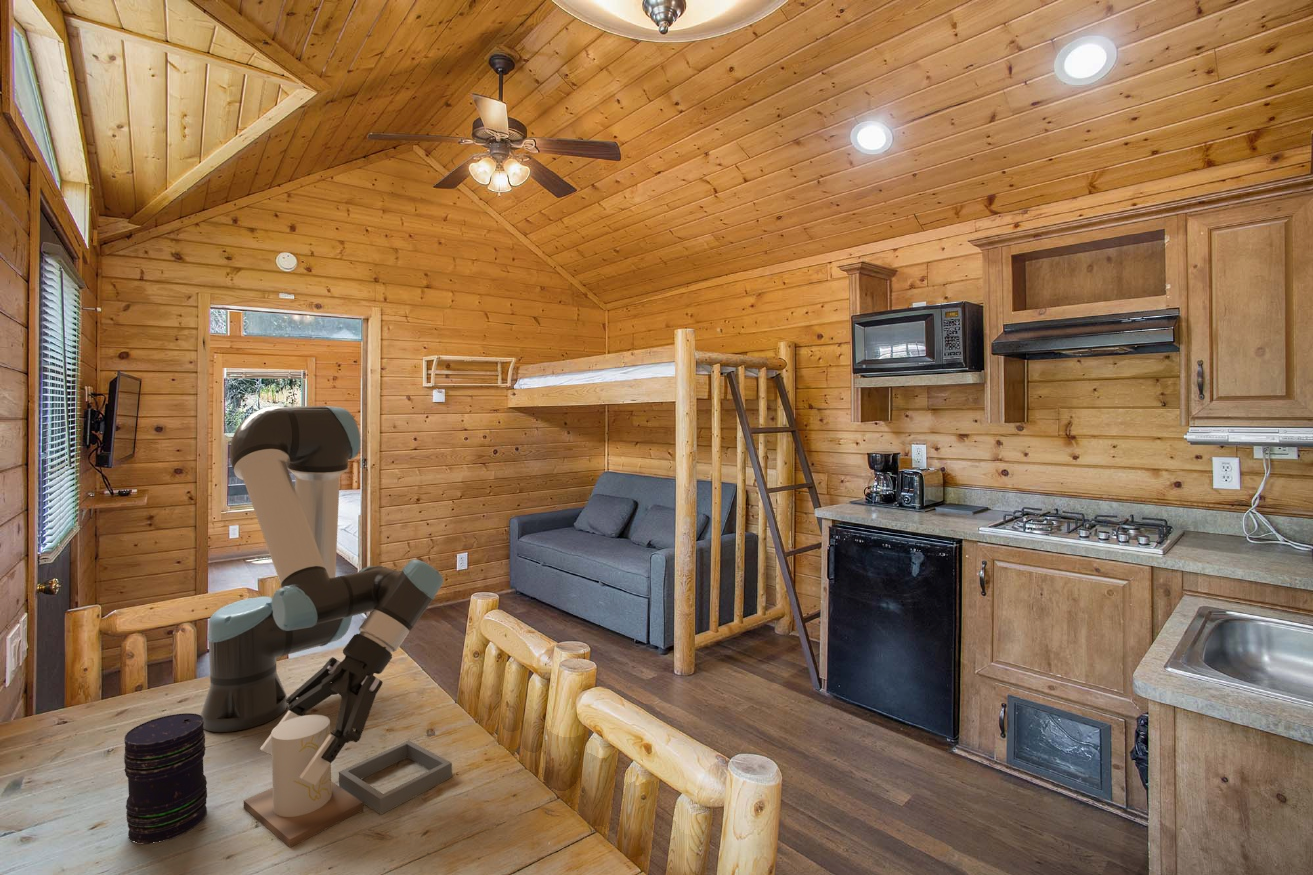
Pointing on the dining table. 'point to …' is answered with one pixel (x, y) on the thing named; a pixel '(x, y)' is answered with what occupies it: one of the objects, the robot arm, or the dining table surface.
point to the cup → (298, 765)
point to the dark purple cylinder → (165, 777)
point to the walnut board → (307, 824)
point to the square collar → (393, 798)
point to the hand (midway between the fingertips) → (286, 766)
